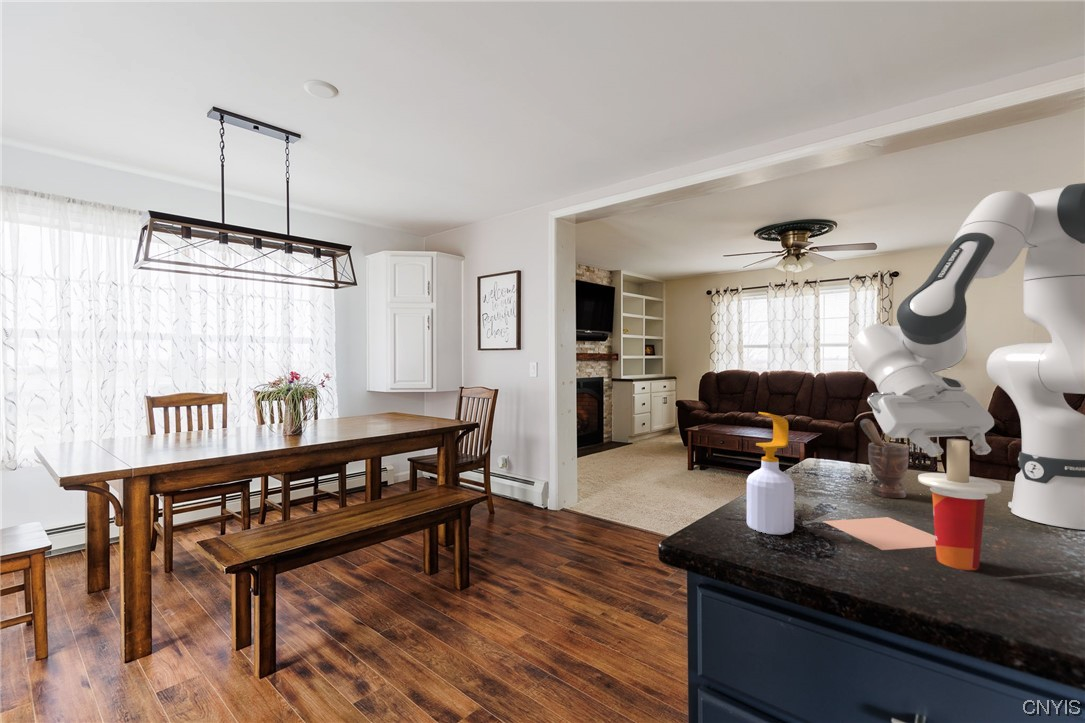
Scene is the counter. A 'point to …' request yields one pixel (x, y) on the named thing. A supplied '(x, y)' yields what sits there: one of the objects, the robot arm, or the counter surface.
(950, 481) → the lid
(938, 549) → the paper cup
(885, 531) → the mat
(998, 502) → the counter surface
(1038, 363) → the robot arm
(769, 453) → the soap bottle
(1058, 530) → the counter surface
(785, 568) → the counter surface
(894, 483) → the mortar and pestle
